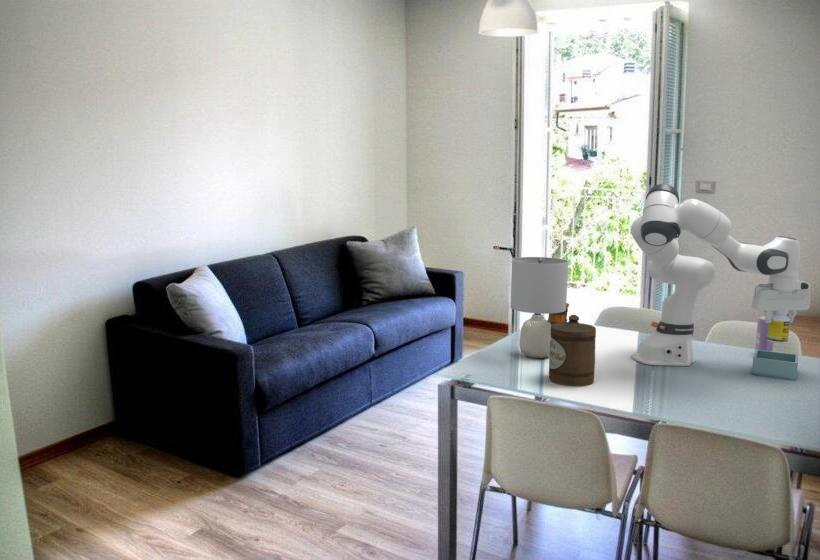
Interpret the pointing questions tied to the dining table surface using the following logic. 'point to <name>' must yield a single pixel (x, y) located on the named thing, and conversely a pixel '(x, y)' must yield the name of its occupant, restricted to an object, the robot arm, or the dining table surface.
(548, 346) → the lamp
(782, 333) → the pill bottle
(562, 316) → the mug
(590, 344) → the wooden container
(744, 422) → the dining table surface
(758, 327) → the beverage can
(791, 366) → the caddy
